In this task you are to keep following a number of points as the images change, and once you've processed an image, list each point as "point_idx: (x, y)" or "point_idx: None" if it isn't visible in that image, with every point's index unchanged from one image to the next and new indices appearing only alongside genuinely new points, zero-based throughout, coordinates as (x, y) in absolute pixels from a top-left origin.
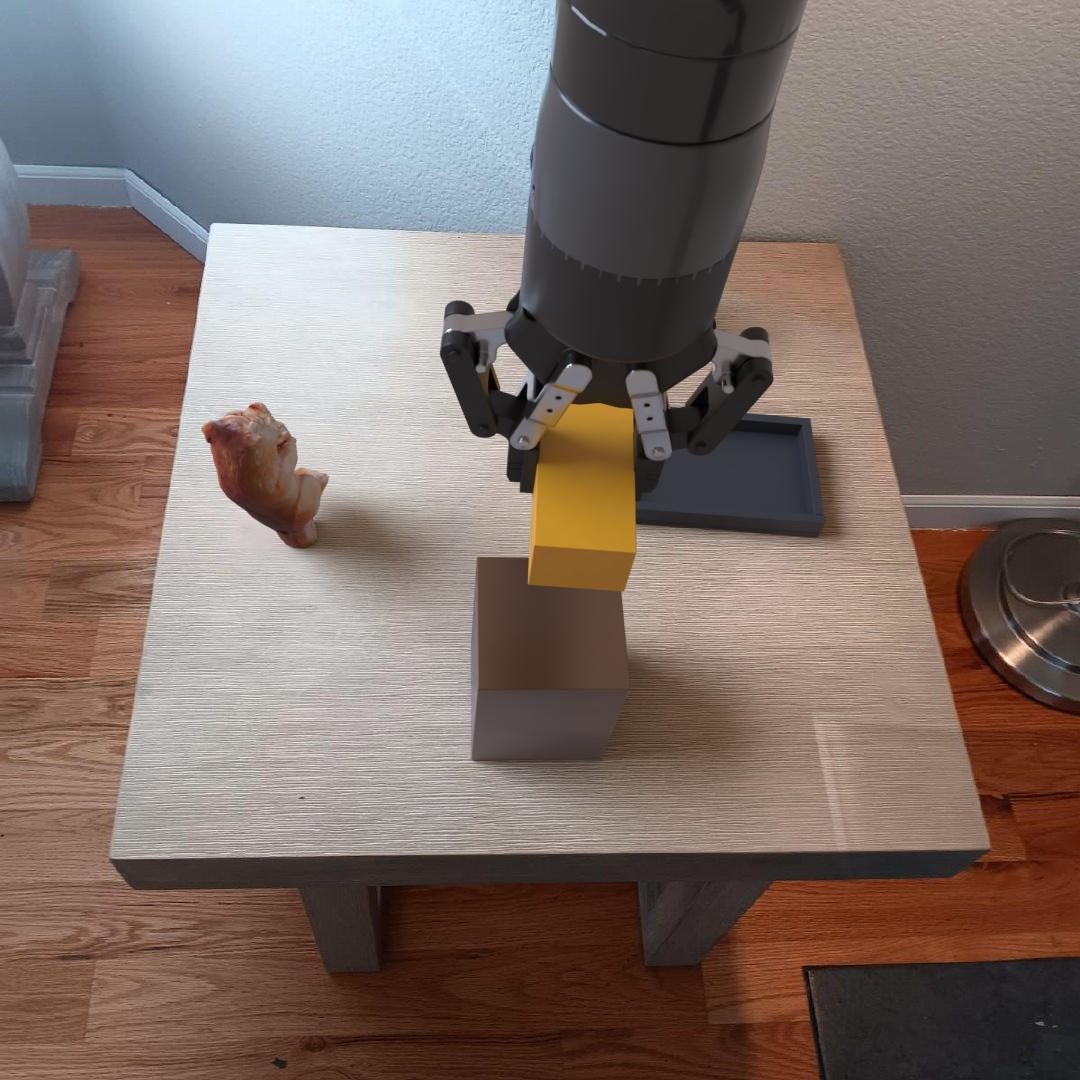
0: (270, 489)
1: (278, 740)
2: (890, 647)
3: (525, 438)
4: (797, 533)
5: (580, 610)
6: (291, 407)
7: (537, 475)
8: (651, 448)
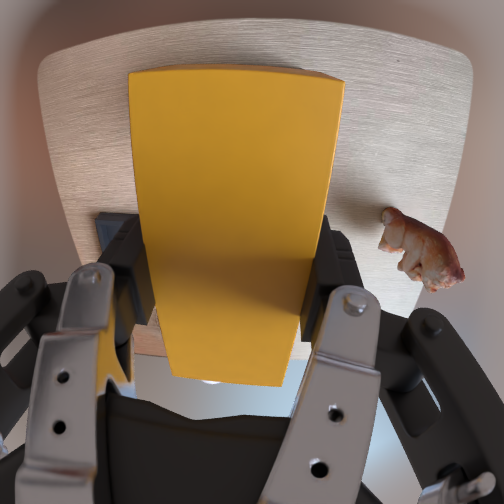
0: (428, 239)
1: (410, 95)
2: (65, 153)
3: (354, 312)
4: (109, 214)
5: None
6: (381, 284)
7: (317, 236)
8: (98, 287)
